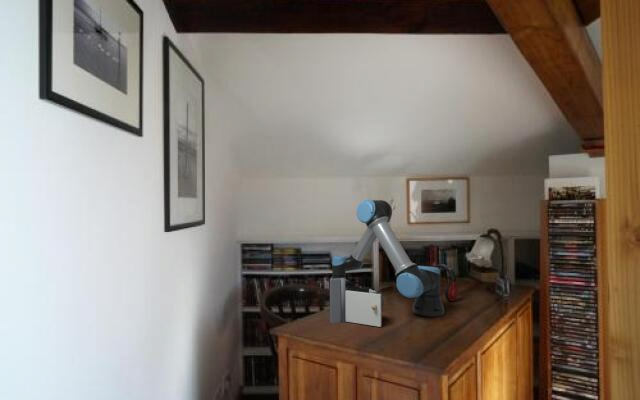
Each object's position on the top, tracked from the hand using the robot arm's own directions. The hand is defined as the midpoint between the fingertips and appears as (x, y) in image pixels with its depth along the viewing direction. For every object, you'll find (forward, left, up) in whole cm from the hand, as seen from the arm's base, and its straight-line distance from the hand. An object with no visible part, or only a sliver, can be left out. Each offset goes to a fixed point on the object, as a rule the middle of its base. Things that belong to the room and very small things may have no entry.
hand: (363, 295), depth 180 cm
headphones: (-31, -48, -10) cm, 58 cm away
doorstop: (0, +1, -6) cm, 6 cm away
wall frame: (+8, +15, -10) cm, 19 cm away
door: (-4, +14, -9) cm, 17 cm away
